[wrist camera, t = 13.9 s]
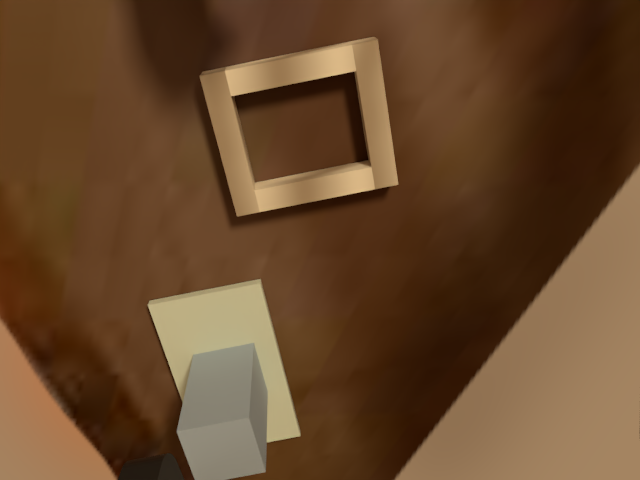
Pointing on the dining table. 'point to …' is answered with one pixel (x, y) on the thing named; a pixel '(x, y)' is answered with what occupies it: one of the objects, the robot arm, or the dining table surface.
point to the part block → (225, 414)
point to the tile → (226, 341)
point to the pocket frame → (293, 70)
